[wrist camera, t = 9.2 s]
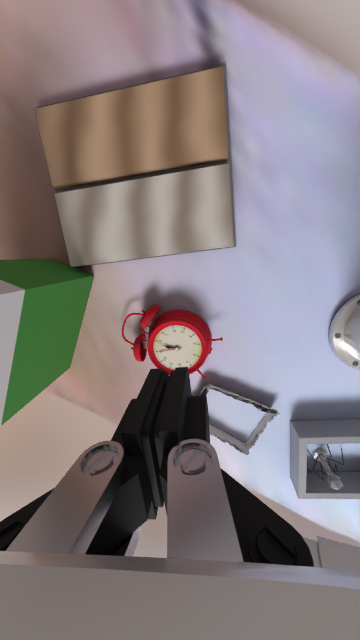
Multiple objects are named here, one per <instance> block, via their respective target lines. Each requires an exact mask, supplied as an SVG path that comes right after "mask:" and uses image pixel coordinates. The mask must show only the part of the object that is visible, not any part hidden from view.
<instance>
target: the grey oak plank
mask: <svg viewBox="0 0 360 640" xmlns="http://www.w3.org/2000/svg"><path fill="white" fill-rule="evenodd" d="M54 197H55V201H56V205H57V210H58V214H59V218H60V223H61V227H62V231H63V236H64V240H65V244H66V249H67V253H68V257H69V262H70V266H71V267H75V266H83V265H91V264H99V263H107V262H115V261H122V260H130V259H138V258H146V257H154V256H162V255H169V254H177V253H185V252H193V251H201V250H209V249H216V248H224V247H232V246H234V242H233V226H232V209H231V192H230V176H229V163H228V164H222V165H217V166H211V167H205V168H199V169H194V170H188V171H182V172H176V173H170V174H165V175H159V176H153V177H147V178H142V179H136V180H130V181H124V182H118V183H113V184H107V185H101V186H95V187H89V188H84V189H78V190H72V191H66V192H61V193H55V194H54Z"/></svg>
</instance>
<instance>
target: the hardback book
mask: <svg viewBox="0 0 360 640" xmlns="http://www.w3.org/2000/svg"><path fill="white" fill-rule="evenodd" d="M93 279H94V276H93V275H91V274H88V273H86V272H83V271H81V270H78V269H76V268H73V267H71V266H68V265H66V264H63V263H61V262H58V261H56V260H53V259H22V260H0V426H1V425H3V424H4V423H5V422H6V421H7V420H9V419H10V418H11V417H12V416H13V415H14V414H15V413H17V412H18V411H19V410H20V409H21V408H23V407H24V406H25V405H26V404H27V403H29V402H30V401H31V400H32V399H33V398H34V397H36V396H37V395H38V394H39V393H40V392H42V391H43V390H44V389H45V388H46V387H48V386H49V385H50V384H51V383H52V382H53V381H55V380H56V379H57V378H58V377H59V376H61V375H62V374H63V373H64V372H65V371H66V370H68V369H69V368H70V365H71V362H72V358H73V354H74V350H75V347H76V343H77V339H78V335H79V331H80V328H81V324H82V320H83V316H84V313H85V309H86V305H87V301H88V298H89V294H90V290H91V286H92V282H93Z"/></svg>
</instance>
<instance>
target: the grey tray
mask: <svg viewBox="0 0 360 640" xmlns="http://www.w3.org/2000/svg"><path fill="white" fill-rule="evenodd" d="M338 443H360V418H359V419H329V420H298V421H290V478H291V480H292V483H293V486H294V488H295V491H296V493H297V496H298V498H299V499H360V472H336V473H337V474H338V473H339V476H340V479H341V481H342V483H343V485H344V486H343V487H341V488H340V489H339V490H336V489H333V488H331V487H330V485H329V483H328V480H327V478H328V477H329V476H327V475H325V474H324V473H326V474H327V472H324V473H323V476H322V472H316V473H317V474H318V475H319V476H320V477H321V478H322V479H323V478H324V481H323V480H322V479H321V478H320V477H319V476H318V475H317V474H316V473H315V472H312V473H311V472H307V444H338ZM336 473H335V472H334V473H333V474H334V475H336V476H338V475H337V474H336Z"/></svg>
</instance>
